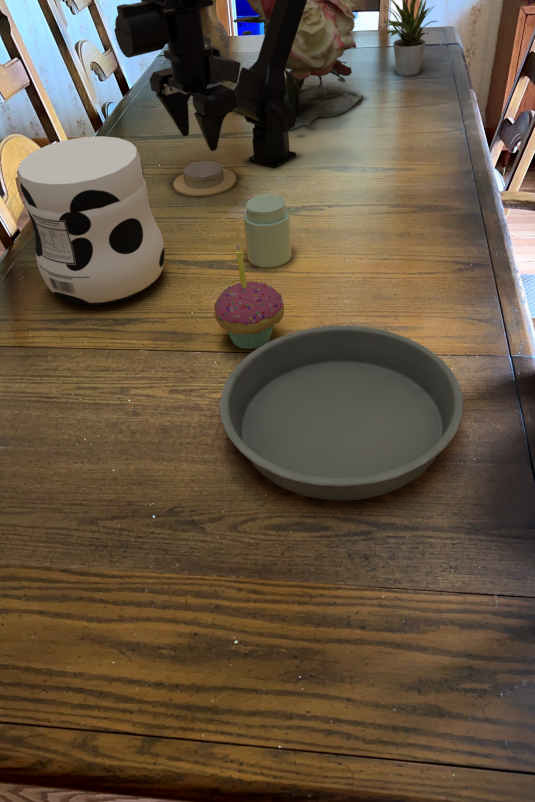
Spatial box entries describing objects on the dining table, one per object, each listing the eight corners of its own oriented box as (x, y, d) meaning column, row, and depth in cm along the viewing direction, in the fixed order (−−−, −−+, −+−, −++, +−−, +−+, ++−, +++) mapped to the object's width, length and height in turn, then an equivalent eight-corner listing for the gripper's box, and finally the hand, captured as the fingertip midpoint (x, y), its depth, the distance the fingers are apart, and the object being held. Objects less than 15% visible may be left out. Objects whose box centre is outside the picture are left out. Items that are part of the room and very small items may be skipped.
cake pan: (240, 355, 87) (236, 324, 84) (448, 356, 84) (451, 324, 81) (206, 511, 68) (200, 479, 65) (471, 520, 65) (477, 486, 62)
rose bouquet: (300, 138, 138) (293, -43, 118) (213, 104, 156) (194, -57, 136) (393, 102, 149) (401, -68, 129) (302, 75, 167) (296, -78, 147)
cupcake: (208, 330, 91) (196, 245, 83) (270, 311, 93) (263, 227, 85) (233, 367, 85) (222, 279, 77) (298, 346, 87) (293, 259, 79)
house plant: (375, 61, 171) (377, -16, 160) (435, 59, 169) (440, -19, 158) (374, 81, 160) (376, -1, 149) (437, 79, 158) (443, -4, 147)
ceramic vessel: (201, 67, 177) (186, -50, 161) (237, 66, 176) (226, -53, 160) (188, 89, 165) (171, -36, 149) (227, 88, 164) (214, -39, 147)
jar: (266, 241, 108) (262, 189, 102) (300, 252, 104) (298, 199, 99) (238, 259, 104) (233, 206, 99) (273, 272, 101) (268, 217, 95)
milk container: (165, 244, 109) (143, 126, 97) (173, 305, 96) (149, 176, 84) (50, 261, 108) (14, 143, 96) (43, 325, 95) (0, 197, 83)
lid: (177, 180, 126) (176, 168, 125) (210, 168, 129) (209, 157, 127) (197, 192, 121) (195, 180, 120) (231, 180, 124) (230, 168, 123)
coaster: (203, 165, 131) (203, 162, 131) (248, 177, 126) (248, 175, 125) (160, 187, 125) (160, 185, 125) (206, 201, 119) (206, 199, 119)
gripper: (263, 42, 108) (270, 144, 118) (199, 22, 120) (211, 116, 130) (199, 59, 103) (212, 164, 113) (140, 36, 115) (157, 133, 126)
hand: (199, 142), depth 121 cm, fingers open, 9 cm apart
